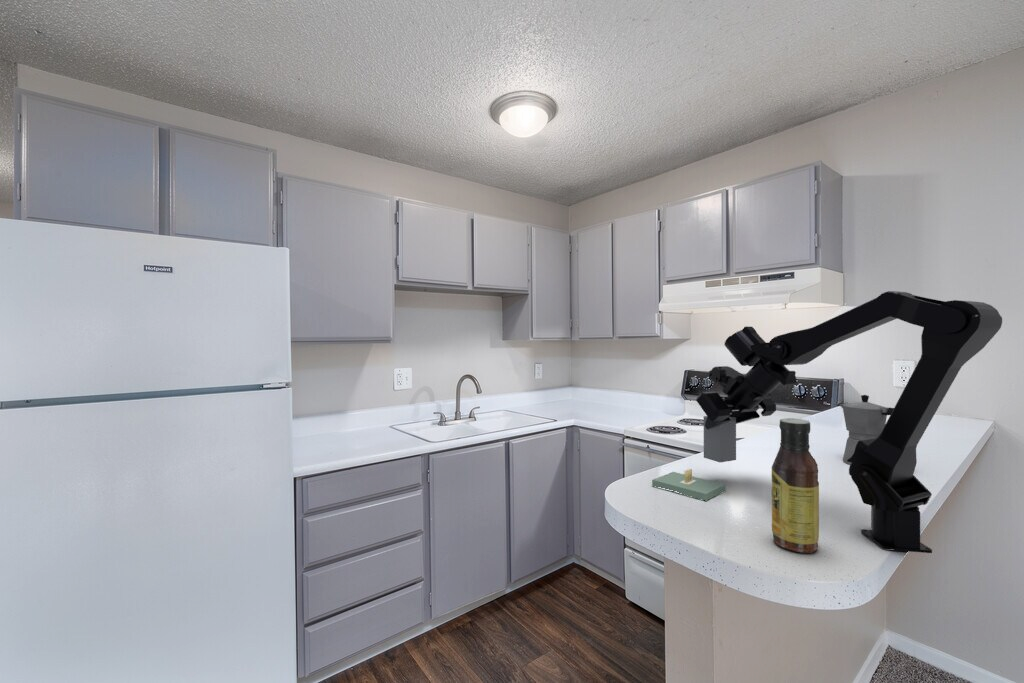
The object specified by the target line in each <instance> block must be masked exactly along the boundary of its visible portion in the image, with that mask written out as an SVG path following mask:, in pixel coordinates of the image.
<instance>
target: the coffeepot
mask: <svg viewBox="0 0 1024 683" xmlns="http://www.w3.org/2000/svg"><path fill="white" fill-rule="evenodd" d="M860 397H861V401H860V402H849V403H840V404H839V407H840V408H841V409H842V413H843V417H844V418H843V419H844V423H845V428H846V431H848V437H847V438H846V443H845V447H844V453H843V458H842V462H843V463H845V464H847V465H849V466H850V464H851V463H852V462H848V461H847V460H848V459H849V458H851V457H852V455H853V454H854V451H855V448H856V445H857V443H858V441H861V440H867V439H873V438H877V437H878V436H879V435H880V434H881V432H882V430H883V428H884V426H885V424H886V422H887V417H888V416H890V415H891V413H892V411H893V409H894V407H888V406H887V407H886V406H882V405H881V404H880V405H879V404H876V403H872V402H868V401H869V398H870V395H867V394H862V395H860Z"/></svg>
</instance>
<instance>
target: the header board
mask: <svg viewBox="0 0 1024 683" xmlns="http://www.w3.org/2000/svg"><path fill="white" fill-rule="evenodd" d="M651 481H652V482H651V483H652V484H651V487H652V486H656V487H661V488H665V489H669V490H673V491H677V492H679V493H682V494H685V495H688V496H692V497H695V498H698V499H697V500H699V499H702V500H705V501H704V502H708V501H709V500H708V499H710V500H712V499H713V498H712V497H714V496H716V495H717V496H719V495H721V494H723V493H725V492H726V490H727V489H726V486H727V485H726V483H723V482H718V481H714V480H709V479H706V478H705V479H704V478H701V477H697V476H693V469H691V468H690V469H686V470H684V473H680V472H676V471H672V472H669V473H667V474H664V475H661V476H658V477H655V478H654V479H652V480H651ZM656 487H655V488H656ZM724 491H725V492H724ZM722 492H723V493H722ZM720 493H721V494H720ZM718 494H719V495H718ZM688 496H687V497H688ZM717 496H716V497H717ZM692 497H691V498H692ZM695 498H694V499H695ZM711 498H712V499H711ZM714 498H715V497H714ZM702 500H701V501H702ZM707 500H708V501H707Z"/></svg>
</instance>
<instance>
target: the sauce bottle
mask: <svg viewBox="0 0 1024 683" xmlns="http://www.w3.org/2000/svg"><path fill="white" fill-rule="evenodd" d="M779 429H780V443H779V449H778V452H777V454H776V455H775V456H776V457H775V458H774V460H773V464H772V466H771V531H772V532H771V533H772V538H773V541H774V542H775V543H776V545H778V547H780V548H784V549H785V548H786V550H789V551H791V552H797V553H802V554H811V553H814V552H815V551H816V550H817V549H818V548H819V540H820V539H819V538H820V532H819V531H820V502H819V501H820V495H819V494H820V482H819V467H818V466H819V464H818V463H817V461H816V459H815V457H814V456H812V454H811V452H810V432H811V422H810V420H806V419H802V418H793V417H784V418H780V419H779Z"/></svg>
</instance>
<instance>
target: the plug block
mask: <svg viewBox="0 0 1024 683" xmlns="http://www.w3.org/2000/svg"><path fill="white" fill-rule="evenodd" d="M729 418H730V420H731V421H729V422H726V423H723V424H721V425H718V426H716V427H713V428H710V429H706V427H705V422H706V419H707V415H704V416H703V458H704V459H708V460H710V461H714V462H718V463H725V462H731V461H737V424H736V418H735V417H729Z"/></svg>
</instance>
